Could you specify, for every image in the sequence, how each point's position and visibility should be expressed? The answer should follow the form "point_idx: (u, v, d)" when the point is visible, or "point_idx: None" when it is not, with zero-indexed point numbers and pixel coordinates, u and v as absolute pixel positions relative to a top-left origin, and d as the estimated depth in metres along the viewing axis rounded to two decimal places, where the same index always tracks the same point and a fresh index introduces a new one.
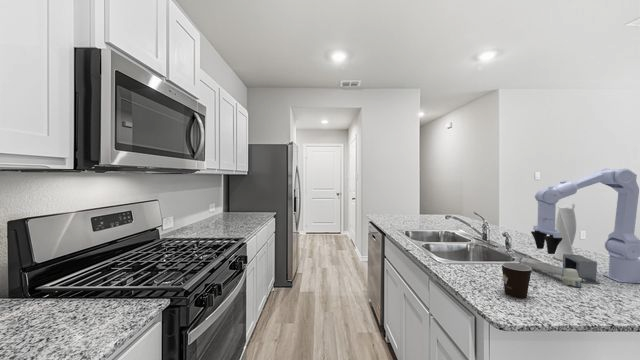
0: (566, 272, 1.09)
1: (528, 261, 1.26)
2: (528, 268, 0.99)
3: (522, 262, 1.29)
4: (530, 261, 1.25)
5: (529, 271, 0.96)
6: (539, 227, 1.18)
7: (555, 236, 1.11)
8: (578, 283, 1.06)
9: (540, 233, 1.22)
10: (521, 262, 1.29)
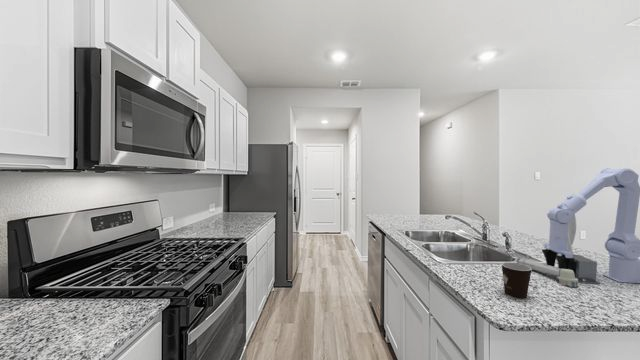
0: (563, 272, 1.09)
1: (526, 261, 1.26)
2: (528, 268, 0.99)
3: (520, 262, 1.29)
4: (528, 261, 1.26)
5: (529, 271, 0.96)
6: (551, 246, 1.17)
7: (567, 256, 1.11)
8: (574, 284, 1.06)
9: (551, 252, 1.21)
10: (519, 262, 1.29)
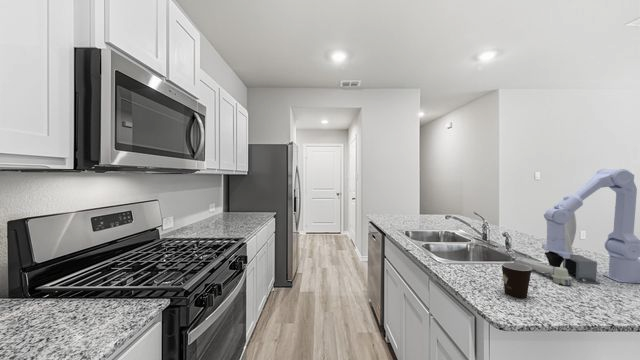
0: (556, 270, 1.10)
1: (522, 260, 1.28)
2: (528, 268, 0.99)
3: (516, 261, 1.30)
4: (524, 260, 1.27)
5: (529, 271, 0.96)
6: (548, 247, 1.17)
7: (565, 257, 1.10)
8: (567, 282, 1.08)
9: None
10: (516, 261, 1.31)
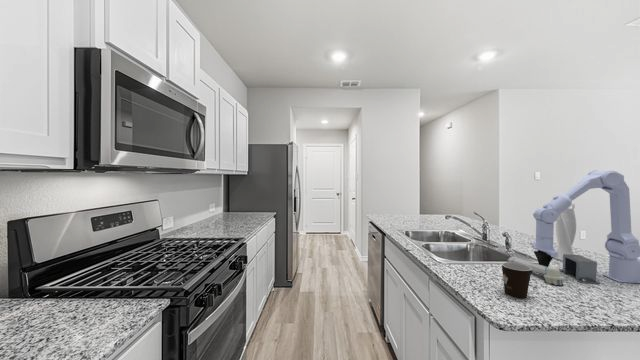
0: (548, 270, 1.10)
1: (515, 260, 1.28)
2: (528, 268, 0.99)
3: (510, 261, 1.30)
4: (517, 260, 1.27)
5: (529, 271, 0.96)
6: (537, 246, 1.19)
7: (553, 256, 1.12)
8: (559, 282, 1.07)
9: None
10: (509, 261, 1.31)
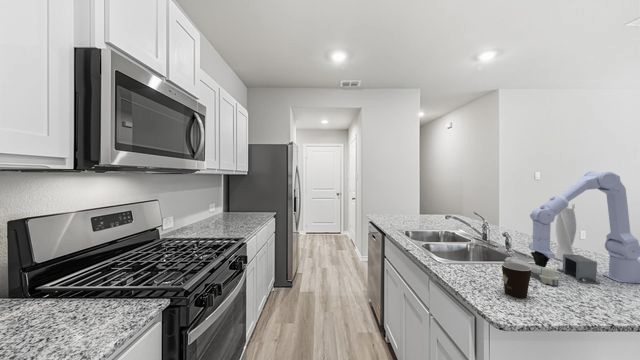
0: (544, 271, 1.10)
1: (511, 260, 1.28)
2: (528, 268, 0.99)
3: (506, 261, 1.30)
4: (513, 260, 1.27)
5: (529, 271, 0.96)
6: (534, 246, 1.18)
7: (549, 257, 1.12)
8: (555, 282, 1.07)
9: None
10: (505, 261, 1.31)
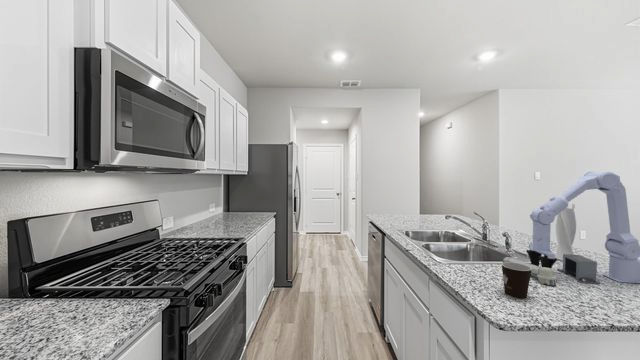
0: (541, 270, 1.10)
1: (510, 260, 1.28)
2: (528, 268, 0.99)
3: (505, 261, 1.30)
4: (512, 260, 1.27)
5: (529, 271, 0.96)
6: (534, 247, 1.18)
7: (549, 257, 1.12)
8: (552, 282, 1.07)
9: (535, 252, 1.22)
10: (504, 261, 1.31)
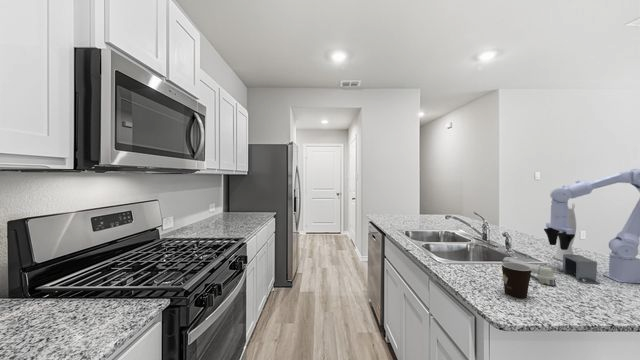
0: (541, 270, 1.10)
1: (510, 260, 1.28)
2: (528, 268, 0.99)
3: (504, 261, 1.30)
4: (511, 260, 1.27)
5: (529, 271, 0.96)
6: (552, 224, 1.24)
7: (568, 233, 1.17)
8: (552, 282, 1.07)
9: (553, 230, 1.28)
10: (504, 261, 1.31)
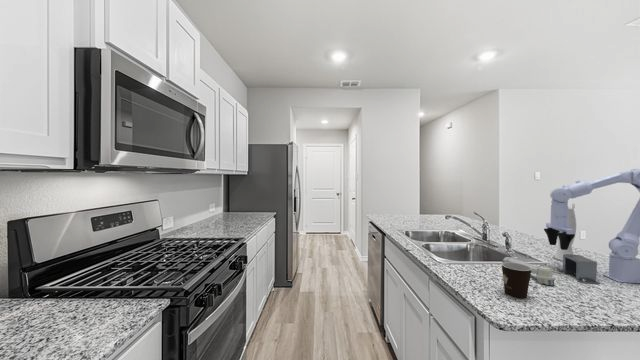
0: (540, 270, 1.10)
1: (510, 260, 1.28)
2: (528, 268, 0.99)
3: (504, 261, 1.30)
4: (511, 260, 1.27)
5: (529, 271, 0.96)
6: (552, 224, 1.24)
7: (568, 233, 1.17)
8: (551, 282, 1.07)
9: (553, 230, 1.28)
10: (504, 261, 1.31)
